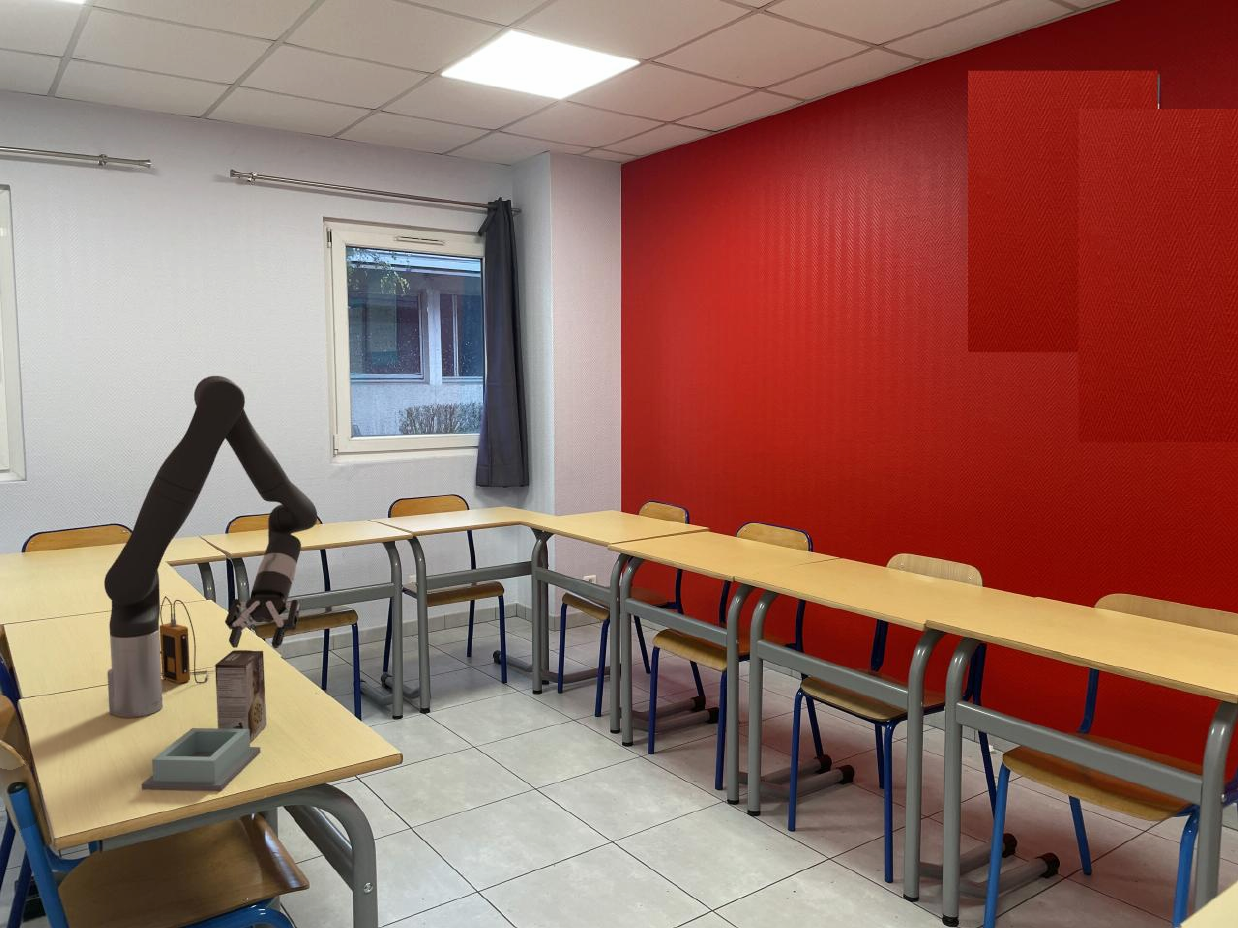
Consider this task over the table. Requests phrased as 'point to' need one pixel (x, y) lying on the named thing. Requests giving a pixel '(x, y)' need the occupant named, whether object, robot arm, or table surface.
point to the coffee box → (241, 691)
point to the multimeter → (176, 650)
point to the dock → (202, 760)
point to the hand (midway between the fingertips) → (254, 646)
